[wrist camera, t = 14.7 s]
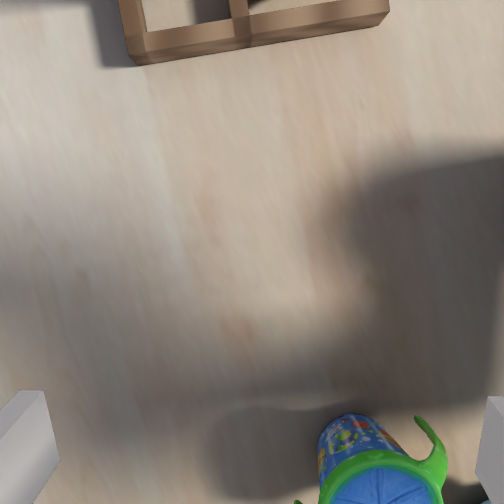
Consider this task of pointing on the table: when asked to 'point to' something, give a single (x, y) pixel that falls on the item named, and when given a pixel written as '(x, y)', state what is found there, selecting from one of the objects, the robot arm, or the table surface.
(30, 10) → the table surface
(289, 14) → the frame
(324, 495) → the snack cup
